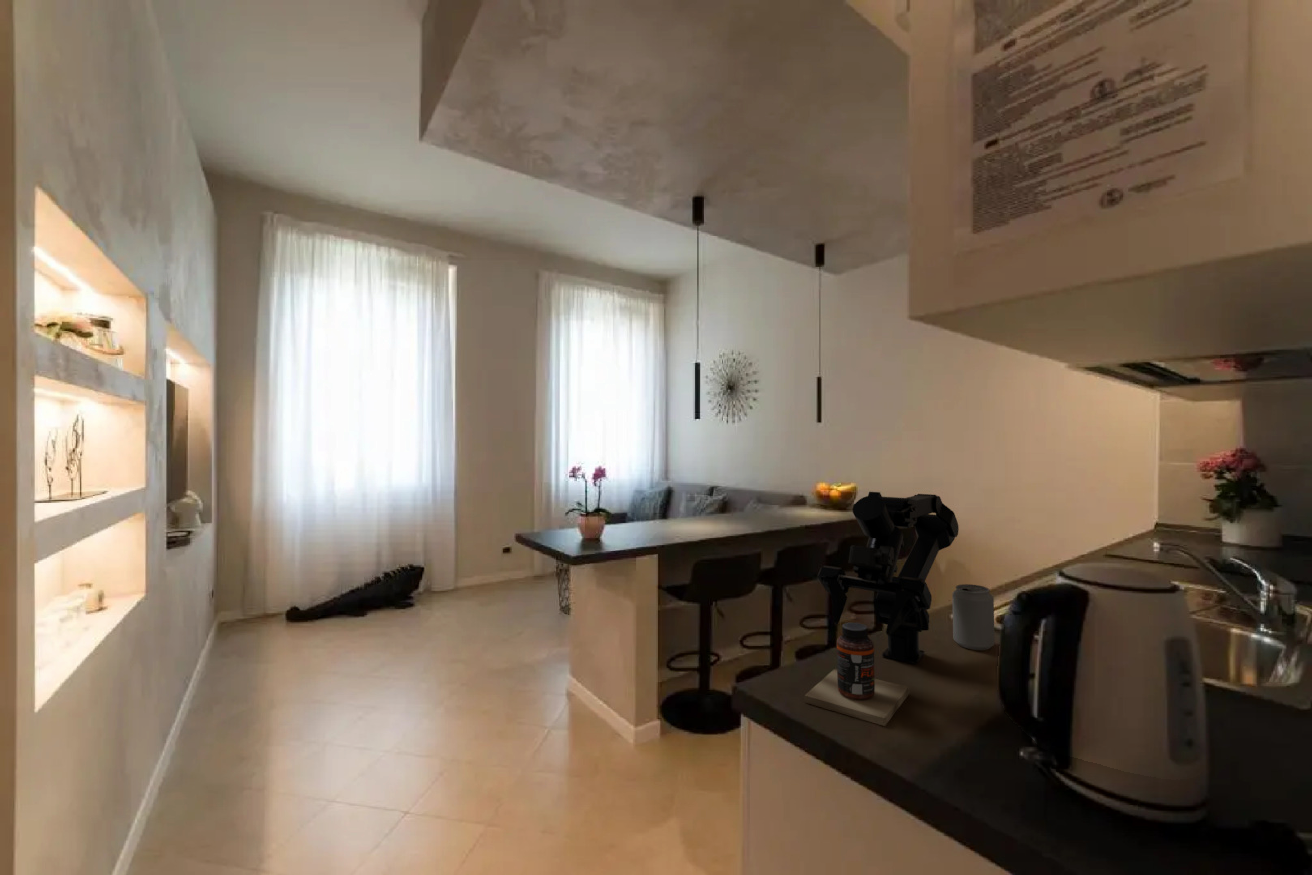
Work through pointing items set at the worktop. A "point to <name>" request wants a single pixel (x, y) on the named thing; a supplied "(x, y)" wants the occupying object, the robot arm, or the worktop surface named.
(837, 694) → the beige square board
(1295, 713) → the worktop surface
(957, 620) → the can
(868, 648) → the supplement bottle
